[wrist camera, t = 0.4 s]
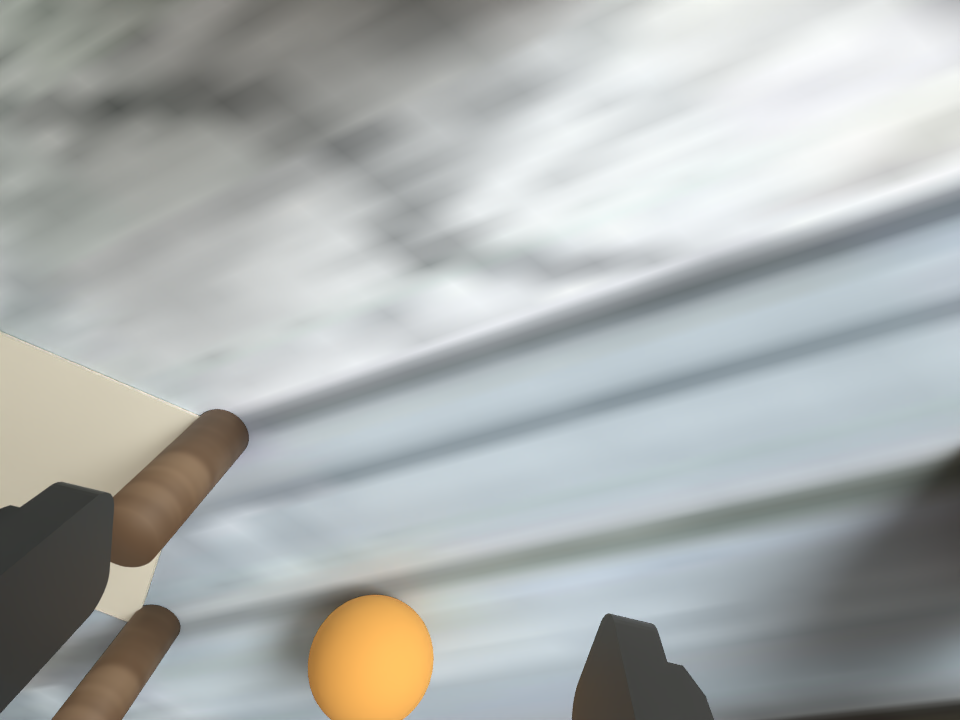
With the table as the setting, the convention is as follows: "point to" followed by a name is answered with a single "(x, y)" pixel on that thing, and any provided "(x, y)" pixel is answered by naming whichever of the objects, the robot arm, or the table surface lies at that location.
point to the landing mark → (79, 441)
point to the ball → (370, 660)
